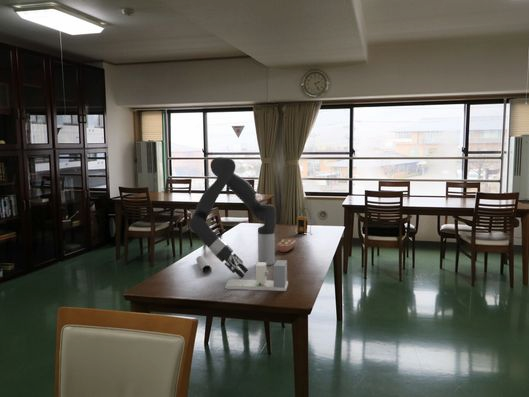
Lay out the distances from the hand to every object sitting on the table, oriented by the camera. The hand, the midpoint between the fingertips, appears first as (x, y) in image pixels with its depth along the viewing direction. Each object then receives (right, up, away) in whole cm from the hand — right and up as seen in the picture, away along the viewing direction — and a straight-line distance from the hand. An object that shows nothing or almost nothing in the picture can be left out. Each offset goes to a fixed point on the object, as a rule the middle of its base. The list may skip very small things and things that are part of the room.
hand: (245, 274), depth 207 cm
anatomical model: (+23, +3, +75) cm, 78 cm away
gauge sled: (+8, -4, -2) cm, 9 cm away
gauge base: (+6, -6, 0) cm, 8 cm away
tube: (-24, -3, +32) cm, 40 cm away
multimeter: (+39, +9, +127) cm, 133 cm away
